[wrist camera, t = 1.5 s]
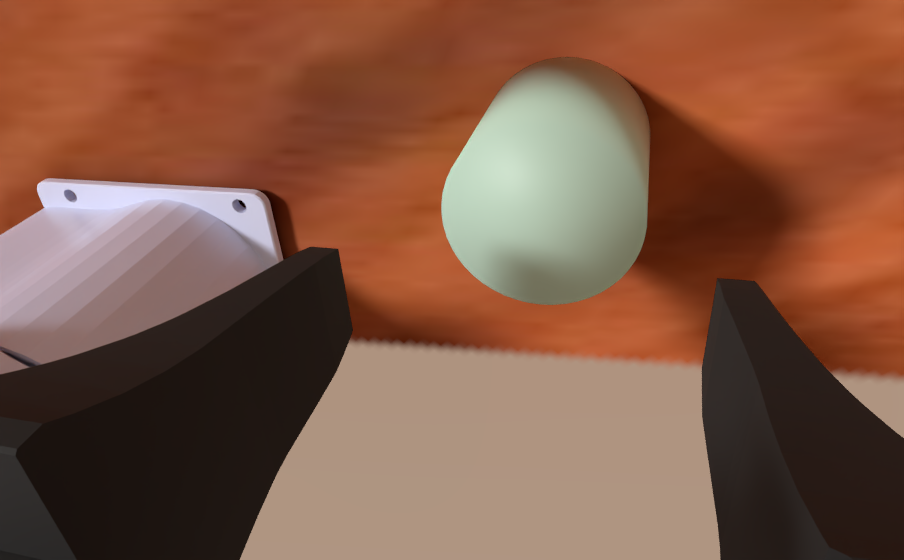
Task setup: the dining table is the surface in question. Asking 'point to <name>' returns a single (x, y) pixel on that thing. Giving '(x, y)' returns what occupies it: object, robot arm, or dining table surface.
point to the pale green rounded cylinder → (552, 184)
